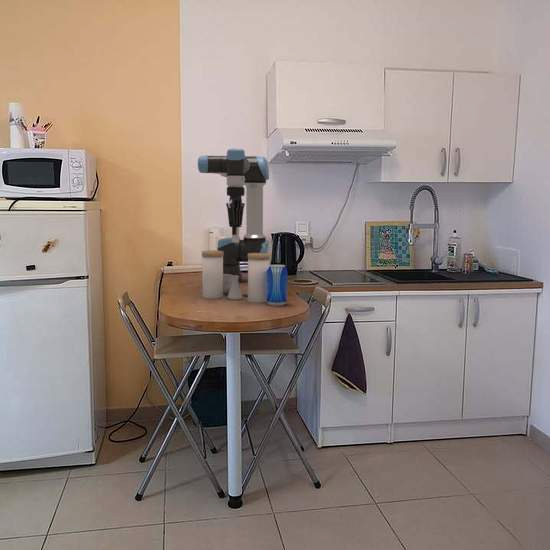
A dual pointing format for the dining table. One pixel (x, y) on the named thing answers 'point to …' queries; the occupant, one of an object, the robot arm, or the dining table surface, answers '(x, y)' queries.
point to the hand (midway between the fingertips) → (235, 242)
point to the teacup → (227, 282)
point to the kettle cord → (242, 294)
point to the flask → (235, 289)
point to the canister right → (257, 276)
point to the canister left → (212, 274)
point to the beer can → (276, 285)
